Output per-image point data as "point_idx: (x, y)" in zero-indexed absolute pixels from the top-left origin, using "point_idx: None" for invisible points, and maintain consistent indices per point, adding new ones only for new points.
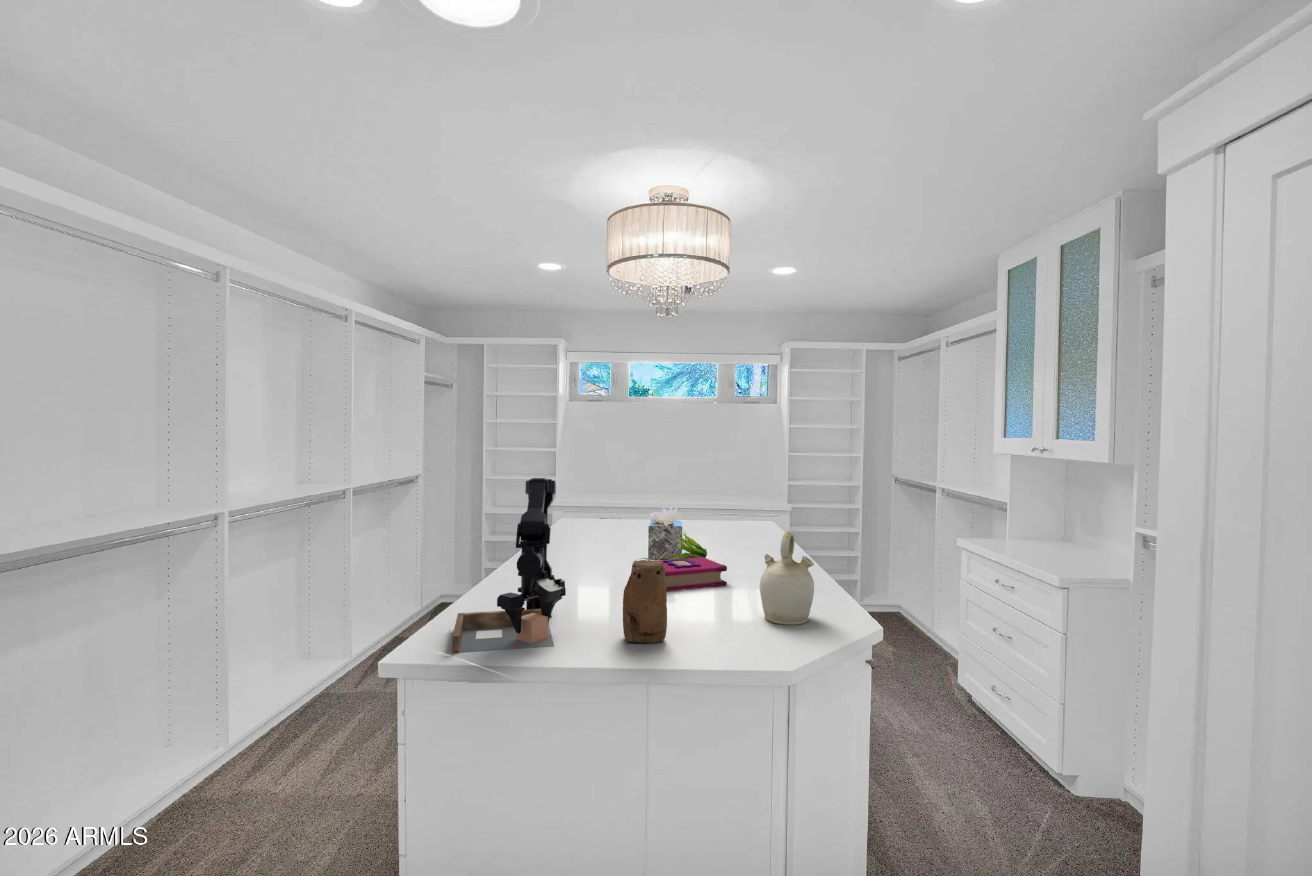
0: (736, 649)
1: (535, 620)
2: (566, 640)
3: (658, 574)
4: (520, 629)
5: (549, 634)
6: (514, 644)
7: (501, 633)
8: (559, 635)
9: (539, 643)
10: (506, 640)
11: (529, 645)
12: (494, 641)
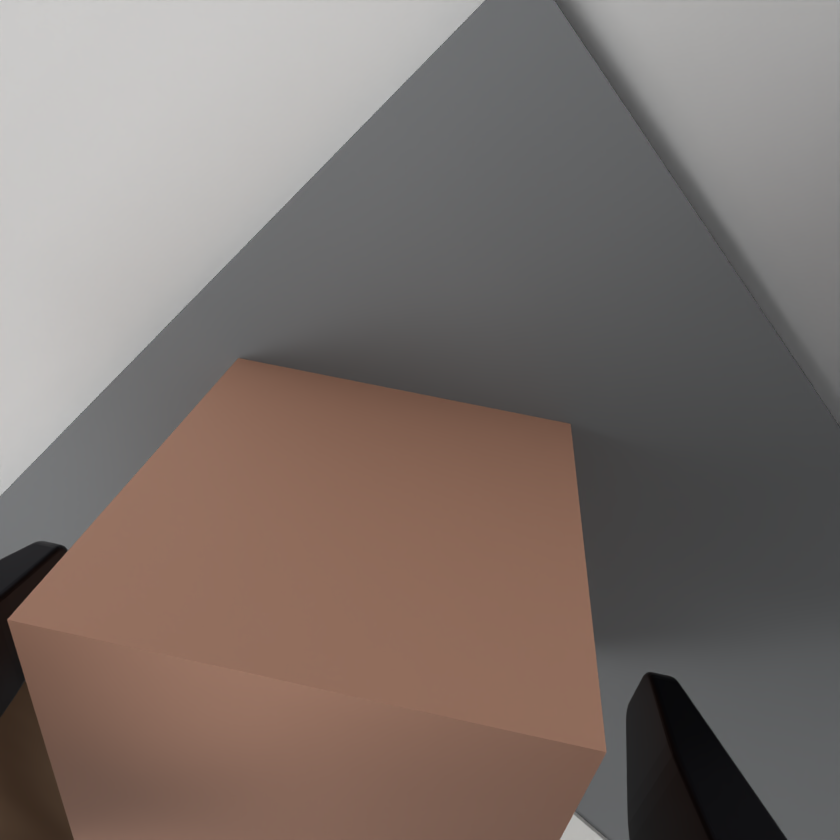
0: None
1: (462, 720)
2: (72, 25)
3: None
4: (678, 730)
5: (112, 420)
6: (697, 586)
7: None
8: (10, 299)
9: (508, 325)
10: None
11: (663, 405)
12: None
